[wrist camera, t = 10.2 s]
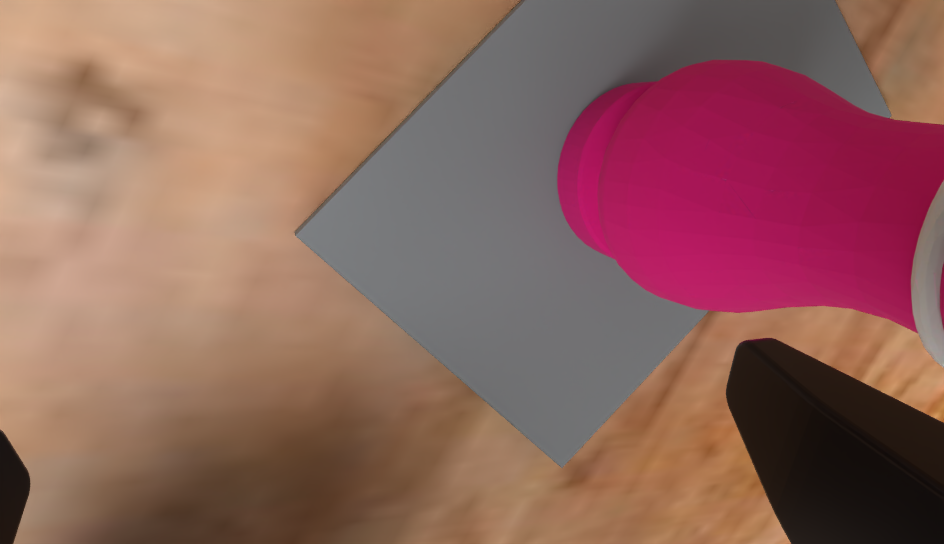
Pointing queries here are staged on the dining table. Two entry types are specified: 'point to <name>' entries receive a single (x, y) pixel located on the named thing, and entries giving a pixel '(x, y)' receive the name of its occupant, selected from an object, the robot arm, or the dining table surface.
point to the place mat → (545, 201)
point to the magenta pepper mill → (761, 195)
